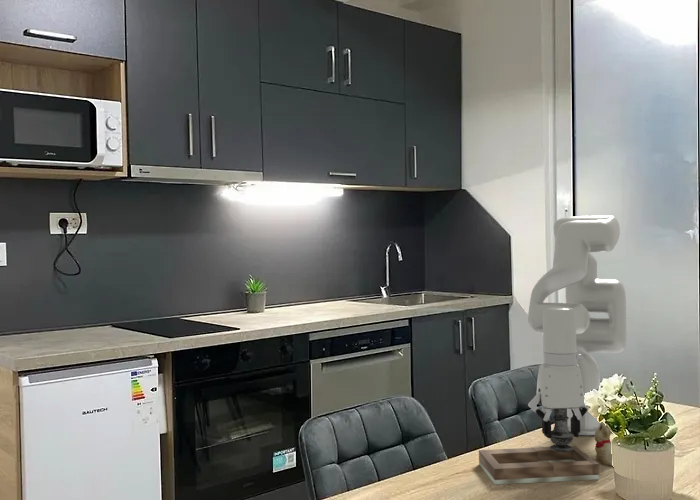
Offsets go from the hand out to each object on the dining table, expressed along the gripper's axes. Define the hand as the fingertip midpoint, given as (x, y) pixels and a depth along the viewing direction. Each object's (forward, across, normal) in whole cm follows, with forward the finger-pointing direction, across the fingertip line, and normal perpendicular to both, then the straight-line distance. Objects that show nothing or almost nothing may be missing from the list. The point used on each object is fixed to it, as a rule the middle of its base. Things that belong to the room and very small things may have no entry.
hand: (561, 435), depth 169 cm
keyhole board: (+8, +6, 0) cm, 10 cm away
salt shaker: (+3, 0, 0) cm, 3 cm away
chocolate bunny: (+8, -13, -5) cm, 16 cm away
